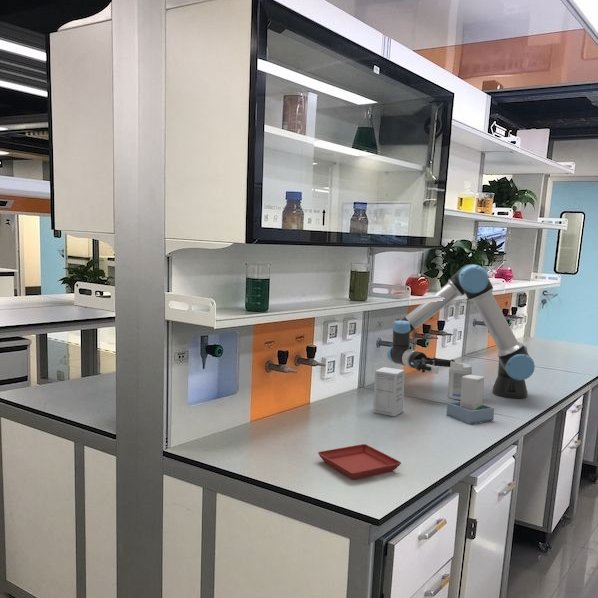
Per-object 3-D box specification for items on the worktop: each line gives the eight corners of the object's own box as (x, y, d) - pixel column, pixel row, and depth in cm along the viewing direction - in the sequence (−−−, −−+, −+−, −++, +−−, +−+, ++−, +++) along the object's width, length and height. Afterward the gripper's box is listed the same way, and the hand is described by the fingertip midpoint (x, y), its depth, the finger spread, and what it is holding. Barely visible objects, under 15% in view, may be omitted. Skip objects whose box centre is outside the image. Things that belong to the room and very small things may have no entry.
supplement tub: (474, 399, 255) (477, 366, 253) (459, 401, 249) (462, 368, 248) (457, 394, 263) (459, 362, 261) (442, 396, 257) (445, 363, 256)
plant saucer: (316, 461, 174) (316, 451, 174) (364, 453, 183) (364, 442, 183) (351, 484, 159) (352, 473, 158) (402, 473, 168) (402, 462, 168)
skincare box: (474, 419, 221) (477, 379, 219) (457, 416, 225) (460, 376, 223) (482, 415, 227) (485, 376, 226) (466, 411, 231) (469, 373, 230)
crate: (469, 412, 234) (470, 399, 234) (493, 420, 223) (494, 408, 223) (446, 415, 228) (447, 402, 227) (470, 424, 217) (471, 411, 217)
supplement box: (403, 411, 231) (406, 369, 229) (395, 417, 223) (397, 373, 221) (381, 407, 235) (383, 366, 234) (372, 412, 227) (374, 370, 226)
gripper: (436, 365, 259) (472, 375, 240) (392, 370, 246) (426, 381, 228) (436, 349, 258) (472, 357, 240) (392, 353, 246) (427, 362, 227)
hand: (450, 369), depth 234 cm, fingers open, 13 cm apart
